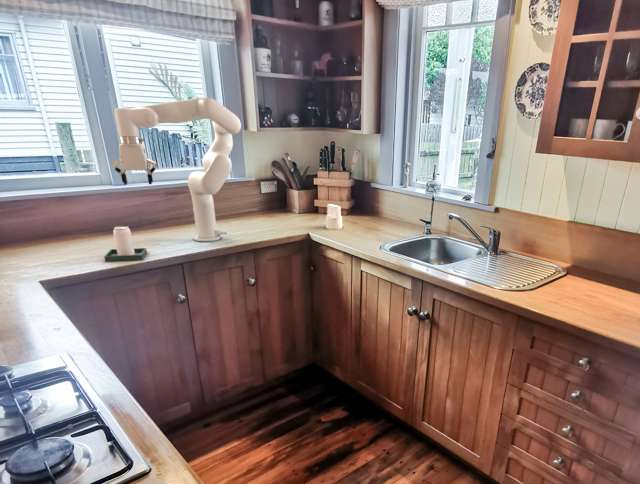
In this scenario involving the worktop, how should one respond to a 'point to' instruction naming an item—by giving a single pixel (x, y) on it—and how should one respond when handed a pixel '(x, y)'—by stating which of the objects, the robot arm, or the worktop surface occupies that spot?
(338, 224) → the cylinder with rectangular tab
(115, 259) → the tray
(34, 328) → the worktop surface
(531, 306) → the worktop surface
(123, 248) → the can
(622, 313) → the worktop surface
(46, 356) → the worktop surface
